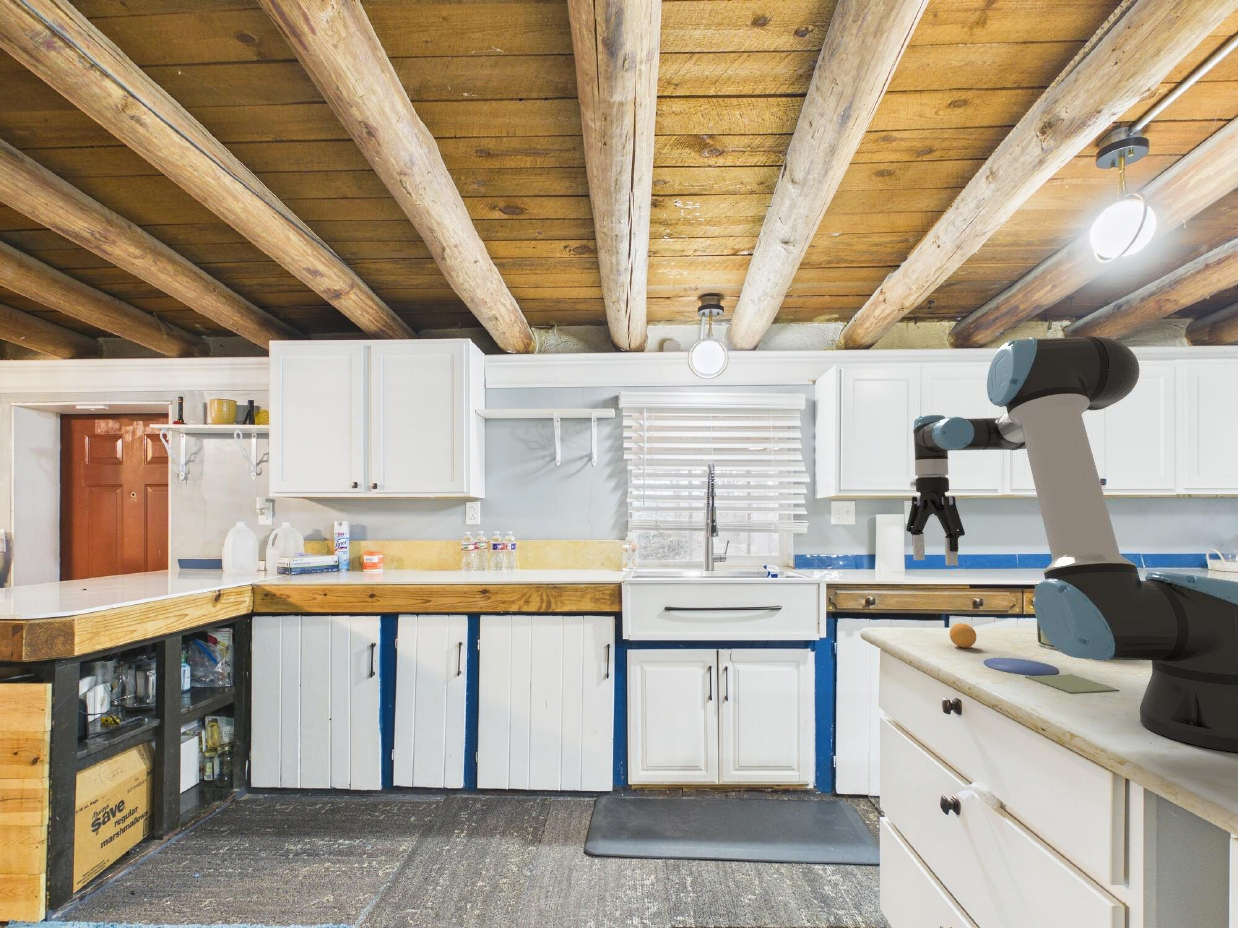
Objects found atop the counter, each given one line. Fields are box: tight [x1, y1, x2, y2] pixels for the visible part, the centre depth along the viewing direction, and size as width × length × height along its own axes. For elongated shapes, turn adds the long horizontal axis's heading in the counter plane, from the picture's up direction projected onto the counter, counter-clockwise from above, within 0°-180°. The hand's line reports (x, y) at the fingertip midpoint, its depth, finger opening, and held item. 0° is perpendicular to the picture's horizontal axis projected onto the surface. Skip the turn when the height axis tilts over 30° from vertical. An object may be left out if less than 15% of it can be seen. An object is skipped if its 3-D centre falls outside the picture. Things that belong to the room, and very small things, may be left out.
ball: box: [949, 622, 977, 649], centre depth 143 cm, size 6×6×6 cm
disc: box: [983, 657, 1060, 676], centre depth 126 cm, size 13×13×1 cm
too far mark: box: [1024, 673, 1121, 694], centre depth 114 cm, size 10×10×1 cm
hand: (934, 562), depth 153 cm, fingers open, 12 cm apart
